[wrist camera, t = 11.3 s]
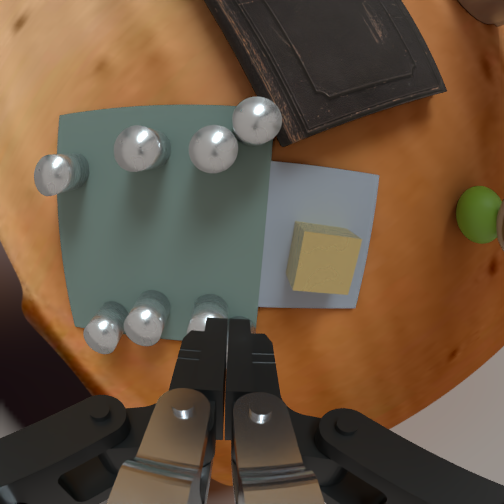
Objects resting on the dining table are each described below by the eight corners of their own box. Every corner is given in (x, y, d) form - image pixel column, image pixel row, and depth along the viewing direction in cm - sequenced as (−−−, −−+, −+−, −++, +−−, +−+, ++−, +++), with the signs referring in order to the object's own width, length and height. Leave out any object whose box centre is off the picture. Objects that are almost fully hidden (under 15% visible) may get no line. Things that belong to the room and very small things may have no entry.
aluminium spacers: (275, 109, 20) (283, 99, 16) (254, 344, 26) (257, 372, 22) (64, 114, 18) (37, 110, 15) (79, 327, 25) (61, 349, 21)
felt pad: (377, 175, 22) (379, 175, 22) (353, 306, 26) (355, 308, 25) (270, 161, 21) (270, 161, 21) (257, 304, 25) (258, 306, 25)
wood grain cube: (346, 228, 23) (362, 239, 20) (335, 278, 24) (348, 294, 21) (295, 220, 22) (304, 231, 19) (285, 273, 24) (292, 290, 21)
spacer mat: (274, 110, 20) (275, 109, 20) (253, 341, 26) (254, 344, 26) (62, 115, 19) (59, 115, 18) (76, 324, 25) (75, 326, 24)
